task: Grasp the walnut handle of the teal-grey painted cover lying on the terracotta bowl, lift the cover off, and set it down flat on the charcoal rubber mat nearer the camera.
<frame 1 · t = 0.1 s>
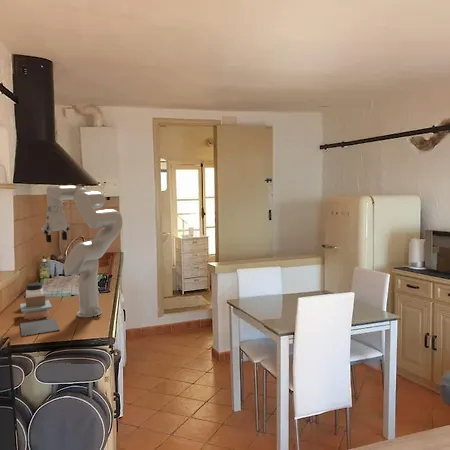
hand: (56, 241, 244), 37 cm above the counter, tool pointing down, fingers open, 9 cm apart
cover: (35, 307, 232), point 5 cm above the counter, touching bowl
mat: (39, 327, 215), on the counter
bowl: (36, 316, 233), on the counter, touching cover
jar: (35, 305, 253), on the counter
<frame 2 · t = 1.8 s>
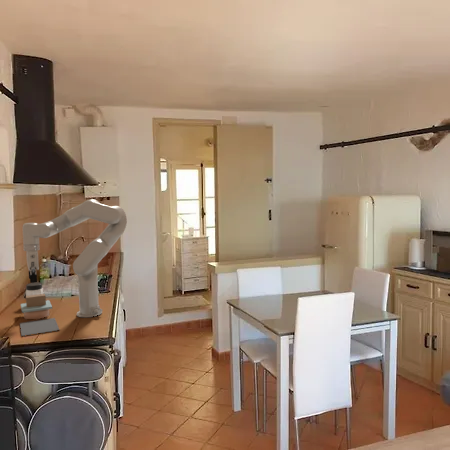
hand: (32, 280, 230), 19 cm above the counter, tool pointing down, fingers open, 9 cm apart
nothing on the counter moved.
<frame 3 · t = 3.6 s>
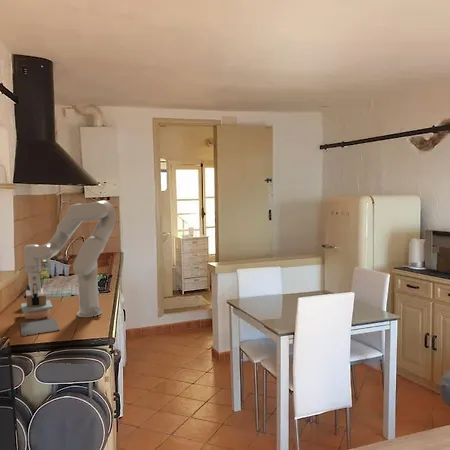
hand: (35, 303, 232), 7 cm above the counter, tool pointing down, fingers closed on cover, 4 cm apart
cover: (36, 306, 232), point 5 cm above the counter, touching bowl, gripper
everything else where it was.
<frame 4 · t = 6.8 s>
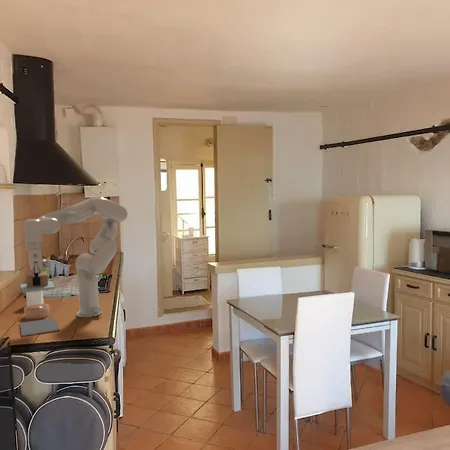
hand: (36, 283, 212), 21 cm above the counter, tool pointing down, fingers closed on cover, 4 cm apart
cover: (37, 287, 213), point 19 cm above the counter, touching gripper
bowl: (37, 316, 233), on the counter
everything else where it was.
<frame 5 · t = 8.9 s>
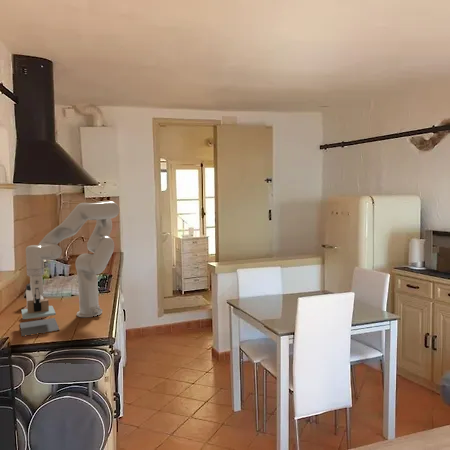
hand: (37, 309, 213), 9 cm above the counter, tool pointing down, fingers closed on cover, 4 cm apart
cover: (38, 313, 214), point 7 cm above the counter, touching gripper
everything else where it was.
when the fingers open (4 cm above the counter, at t = 10.3 s): cover drops 1 cm, resting on mat.
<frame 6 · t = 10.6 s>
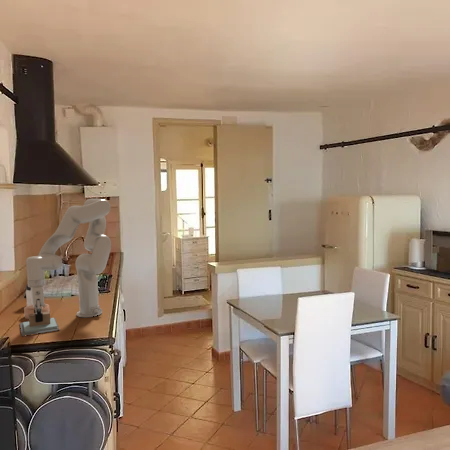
hand: (38, 319, 214), 4 cm above the counter, tool pointing down, fingers open, 6 cm apart
cover: (40, 326, 215), point 1 cm above the counter, touching mat
everything else where it was.
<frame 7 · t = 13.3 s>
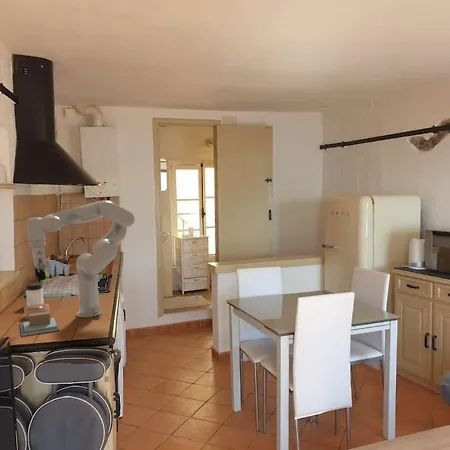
hand: (40, 278, 219), 22 cm above the counter, tool pointing down, fingers open, 9 cm apart
nothing on the counter moved.
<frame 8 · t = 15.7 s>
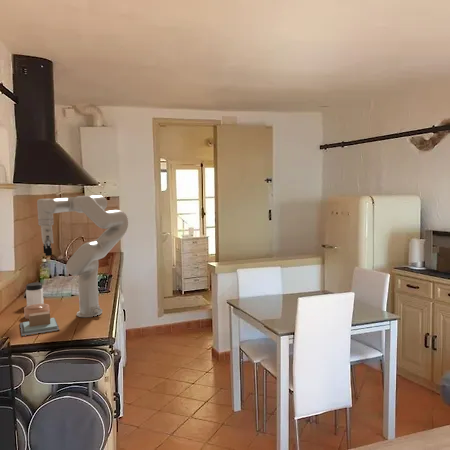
hand: (47, 254, 240), 30 cm above the counter, tool pointing down, fingers open, 9 cm apart
nothing on the counter moved.
at the end: cover inside the target area on the mat (0.4 cm from its centre), point 0.6 cm above the mat's base; cover tilted 0°; the gripper is holding nothing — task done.
